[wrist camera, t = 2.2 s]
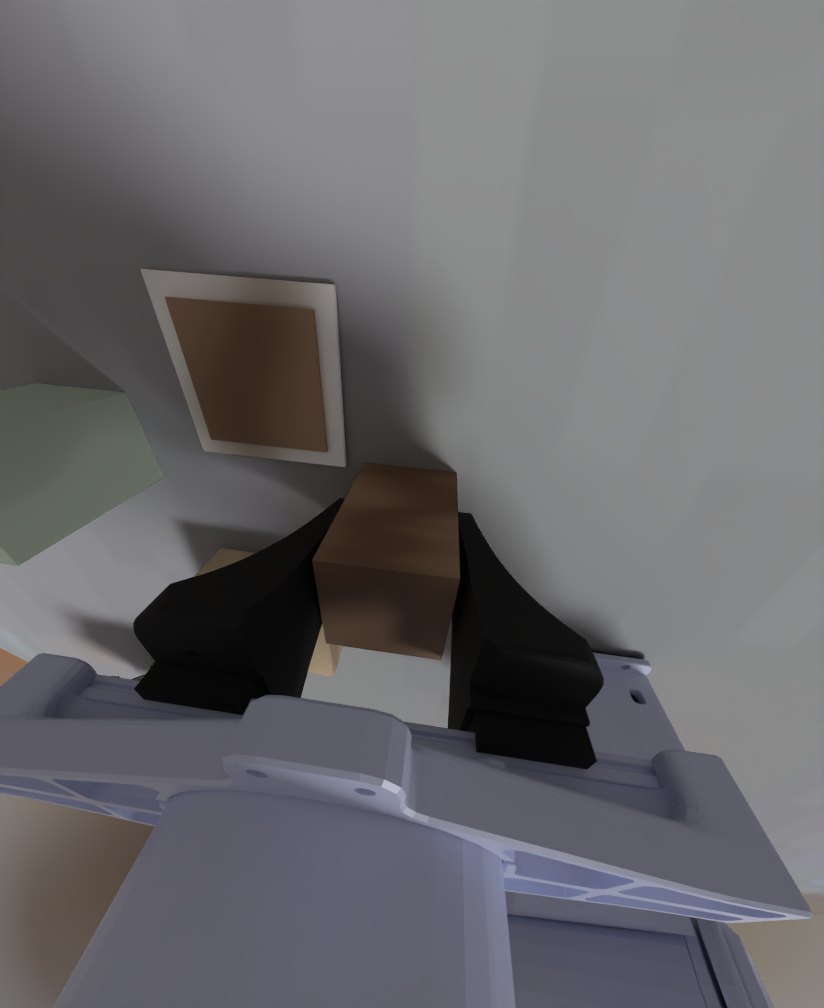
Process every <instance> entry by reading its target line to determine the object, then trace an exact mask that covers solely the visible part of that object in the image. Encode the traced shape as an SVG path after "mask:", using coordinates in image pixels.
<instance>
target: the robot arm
mask: <svg viewBox="0 0 824 1008" xmlns="http://www.w3.org/2000/svg"><path fill="white" fill-rule="evenodd" d="M344 500H345V499H343V498H340V499H339V500H337V501H336V502H335V503H333V504H332V505H331V506H329V507H328V508H327V509H326V510H324V511H323V512H322V513H320V514H319V515H318V516H316V517H315V518H314V519H312V520H311V521H310V522H308V523H307V524H305V525H304V526H302V527H301V528H299V529H298V530H296V531H295V532H293V533H292V534H290V535H289V536H287V537H286V538H284V539H282V540H280V541H279V542H277V543H275V544H273V545H271V546H269V547H268V548H266V549H264V550H261V551H259V552H257V553H255V554H253V555H251V556H248V557H246V558H244V559H242V560H240V561H237V562H235V563H232V564H230V565H227V566H225V567H222V568H219V569H216V570H214V571H211V572H208V573H205V574H202V575H198V576H195V577H192V578H189V579H185V580H182V581H179V582H175V583H172V584H170V585H169V586H168V587H167V588H166V589H165V590H164V591H163V592H162V593H161V594H160V595H159V596H158V597H157V598H156V599H155V600H154V601H153V602H152V603H151V604H150V605H149V606H148V607H147V608H146V609H145V610H144V611H143V612H142V613H141V614H140V615H139V616H138V617H137V618H136V619H135V621H134V623H133V625H134V633H135V634H136V636H137V638H138V640H139V641H140V642H141V643H142V645H143V646H144V647H145V649H146V650H147V651H148V652H149V654H150V655H151V656H152V658H153V659H154V660H155V661H156V662H155V664H154V665H153V666H152V667H151V668H150V670H149V671H148V672H147V673H146V675H145V676H144V677H143V678H142V679H141V681H137V680H130V679H124V678H118V677H111V676H105V675H98V674H96V671H95V670H94V669H93V667H91V666H90V665H89V664H88V663H86V662H84V661H82V660H80V659H76V658H72V657H65V656H59V655H52V654H46V653H42V654H38V655H37V656H36V657H35V658H33V659H32V660H31V661H30V662H29V663H28V664H26V665H25V666H24V667H23V668H22V669H20V670H19V671H18V672H17V673H16V674H15V675H13V676H12V677H11V678H10V679H9V680H8V681H6V682H5V683H4V684H3V685H2V686H1V687H0V793H2V794H7V795H12V796H18V797H23V798H28V799H33V800H38V801H43V802H48V803H53V804H58V805H62V806H67V807H72V808H77V809H81V810H85V811H90V812H94V813H98V814H103V815H108V816H112V817H116V818H121V819H125V820H129V821H133V822H138V823H142V824H147V825H151V826H155V827H154V829H153V831H152V833H151V835H150V837H149V838H148V840H147V842H146V843H145V846H144V847H143V849H142V851H141V852H140V854H139V856H138V858H137V859H136V861H135V863H134V865H133V866H132V868H131V870H130V872H129V874H128V875H127V877H126V879H125V881H124V882H123V884H122V886H121V888H120V890H119V892H118V893H117V895H116V897H115V898H114V900H113V902H112V904H111V906H110V907H109V909H108V911H107V913H106V914H105V916H104V918H103V920H102V922H101V923H100V925H99V927H98V929H97V930H96V932H95V934H94V936H93V937H92V939H91V941H90V943H89V945H88V946H87V948H86V950H85V952H84V953H83V955H82V957H81V959H80V961H79V962H78V964H77V966H76V968H75V969H74V971H73V973H72V975H71V977H70V978H69V980H68V982H67V984H66V986H65V987H64V989H63V991H62V993H61V994H60V996H59V998H58V1000H57V1001H56V1003H55V1005H54V1007H53V1008H775V1007H774V1005H773V1003H772V1001H771V999H770V997H769V995H768V992H767V990H766V988H765V986H764V984H763V982H762V980H761V978H760V976H759V974H758V971H757V969H756V967H755V965H754V963H753V961H752V959H751V957H750V955H749V953H748V951H747V949H746V947H745V945H744V943H743V942H742V940H741V938H740V937H739V935H738V934H737V933H735V932H734V931H733V930H732V929H731V928H730V927H729V926H728V925H727V924H726V923H739V922H756V921H757V922H758V921H773V920H774V921H775V920H792V919H808V918H812V915H813V912H812V911H811V909H810V907H809V906H808V904H807V902H806V901H805V899H804V897H803V896H802V894H801V892H800V890H799V889H798V887H797V885H796V884H795V882H794V880H793V879H792V877H791V875H790V874H789V872H788V870H787V869H786V867H785V865H784V863H783V862H782V860H781V858H780V857H779V855H778V853H777V852H776V850H775V848H774V847H773V845H772V843H771V842H770V840H769V838H768V837H767V835H766V833H765V831H764V830H763V828H762V826H761V825H760V823H759V821H758V820H757V818H756V816H755V815H754V813H753V811H752V810H751V808H750V806H749V804H748V803H747V801H746V799H745V798H744V796H743V794H742V793H741V791H740V789H739V788H738V786H737V784H736V783H735V781H734V779H733V777H732V776H731V774H730V772H729V771H728V769H727V767H726V766H725V764H724V762H723V761H722V759H721V758H719V757H718V756H715V755H709V754H702V753H696V752H689V751H685V749H684V748H683V746H682V744H681V742H680V740H679V738H678V736H677V734H676V732H675V730H674V728H673V727H672V725H671V723H670V721H669V719H668V717H667V715H666V713H665V711H664V709H663V707H662V705H661V704H660V702H659V700H658V698H657V696H656V694H655V692H654V690H653V688H652V686H651V684H650V683H649V681H648V679H647V677H646V675H647V674H648V673H649V672H650V671H651V670H652V667H651V665H650V663H649V662H648V661H647V660H643V659H636V658H629V657H622V656H614V655H607V654H600V653H593V652H592V650H591V648H590V646H589V644H588V642H587V640H585V639H584V638H582V637H581V636H580V635H578V634H577V633H576V632H574V631H573V630H571V629H570V628H569V627H567V626H566V625H565V624H563V623H562V622H561V621H559V620H558V619H557V618H556V617H554V616H553V615H552V614H551V613H549V612H548V611H547V610H546V609H545V608H543V607H542V606H541V605H540V604H539V603H538V602H537V601H536V600H535V599H533V598H532V597H531V596H530V595H529V594H528V593H527V592H526V591H525V590H524V589H523V588H522V587H521V586H520V585H519V584H518V583H517V582H516V580H515V579H514V578H513V577H512V576H511V575H510V574H509V572H508V571H507V570H506V569H505V567H504V566H503V565H502V563H501V562H500V561H499V559H498V558H497V557H496V555H495V554H494V552H493V551H492V549H491V548H490V546H489V545H488V543H487V541H486V540H485V538H484V536H483V535H482V533H481V531H480V529H479V528H478V526H477V524H476V522H475V520H474V518H473V516H472V515H471V514H470V513H461V512H458V529H459V559H460V582H459V587H458V591H457V595H456V599H455V604H454V608H453V612H452V642H451V672H450V695H449V716H448V729H447V728H441V727H434V726H428V725H422V724H415V723H409V722H403V721H402V720H400V719H399V718H397V717H395V716H394V715H392V714H389V713H385V712H381V711H378V710H374V709H369V708H362V707H356V706H349V705H342V704H336V703H329V702H323V701H316V700H310V699H303V698H301V694H302V691H303V687H304V683H305V680H306V676H307V673H308V669H309V666H310V662H311V659H312V655H313V652H314V649H315V645H316V642H317V639H318V636H319V633H320V629H321V626H322V617H321V611H320V605H319V599H318V593H317V587H316V581H315V575H314V569H313V563H312V559H313V558H314V556H315V554H316V552H317V550H318V548H319V546H320V545H321V543H322V541H323V539H324V537H325V535H326V533H327V532H328V530H329V528H330V526H331V524H332V522H333V520H334V519H335V517H336V515H337V513H338V511H339V509H340V507H341V506H342V504H343V502H344Z"/></svg>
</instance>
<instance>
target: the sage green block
mask: <svg viewBox="0 0 824 1008" xmlns="http://www.w3.org/2000/svg"><path fill="white" fill-rule="evenodd" d="M163 477H164V475H163V473H162V471H161V469H160V467H159V464H158V462H157V460H156V458H155V456H154V453H153V451H152V449H151V447H150V445H149V442H148V440H147V438H146V436H145V433H144V431H143V429H142V427H141V425H140V422H139V420H138V418H137V416H136V414H135V411H134V409H133V407H132V405H131V402H130V400H129V398H128V396H127V394H126V392H117V391H108V390H98V389H88V388H79V387H69V386H60V385H50V384H40V383H34V384H29V385H24V386H18V387H13V388H8V389H3V390H0V563H3V564H10V565H18V566H19V565H20V564H22V563H24V562H25V561H27V560H29V559H30V558H32V557H33V556H35V555H37V554H38V553H40V552H42V551H43V550H45V549H47V548H48V547H50V546H52V545H53V544H55V543H56V542H58V541H60V540H61V539H63V538H65V537H66V536H68V535H70V534H71V533H73V532H75V531H76V530H78V529H79V528H81V527H83V526H84V525H86V524H88V523H89V522H91V521H93V520H94V519H96V518H98V517H99V516H101V515H103V514H104V513H106V512H107V511H109V510H111V509H112V508H114V507H116V506H117V505H119V504H121V503H122V502H124V501H126V500H127V499H129V498H130V497H132V496H134V495H135V494H137V493H139V492H140V491H142V490H144V489H145V488H147V487H149V486H150V485H152V484H153V483H155V482H157V481H158V480H160V479H162V478H163Z"/></svg>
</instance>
